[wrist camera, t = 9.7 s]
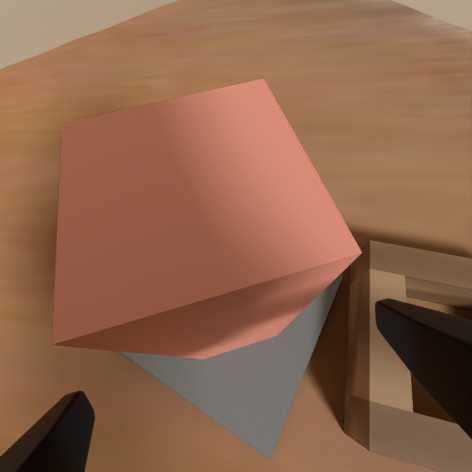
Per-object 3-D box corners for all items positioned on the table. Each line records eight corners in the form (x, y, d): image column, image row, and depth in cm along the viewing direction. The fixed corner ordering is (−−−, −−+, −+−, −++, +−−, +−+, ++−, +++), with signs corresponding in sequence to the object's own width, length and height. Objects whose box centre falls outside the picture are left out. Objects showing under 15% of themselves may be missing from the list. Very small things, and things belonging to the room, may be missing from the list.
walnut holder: (561, 495, 13) (659, 536, 10) (343, 432, 15) (369, 450, 12) (511, 291, 18) (566, 276, 15) (350, 260, 19) (370, 240, 16)
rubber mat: (268, 456, 14) (269, 460, 14) (112, 343, 17) (107, 342, 17) (340, 277, 19) (343, 275, 18) (206, 213, 22) (204, 209, 21)
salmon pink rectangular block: (276, 336, 17) (361, 252, 4) (202, 359, 16) (51, 344, 4) (253, 267, 19) (263, 78, 6) (187, 286, 18) (62, 123, 6)
